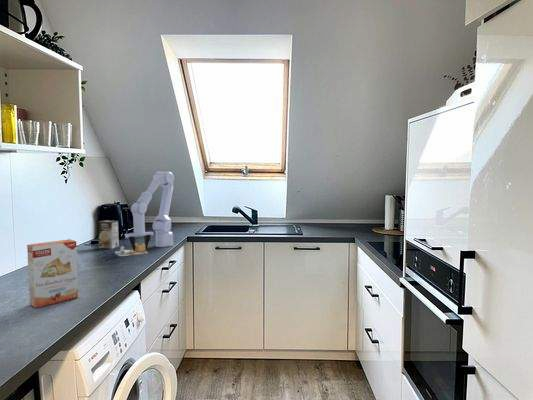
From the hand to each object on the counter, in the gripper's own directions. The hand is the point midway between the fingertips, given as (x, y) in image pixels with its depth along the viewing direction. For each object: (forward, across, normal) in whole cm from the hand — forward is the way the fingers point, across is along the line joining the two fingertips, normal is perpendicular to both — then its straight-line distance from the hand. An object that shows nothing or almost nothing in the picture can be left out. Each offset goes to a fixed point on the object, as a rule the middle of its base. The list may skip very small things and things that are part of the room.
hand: (140, 249), depth 203 cm
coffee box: (+2, -12, +21) cm, 25 cm away
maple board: (+2, -4, 0) cm, 5 cm away
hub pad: (+1, -9, 0) cm, 9 cm away
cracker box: (+2, -42, -60) cm, 74 cm away
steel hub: (+1, -9, 0) cm, 9 cm away
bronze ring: (+1, 0, 0) cm, 1 cm away
